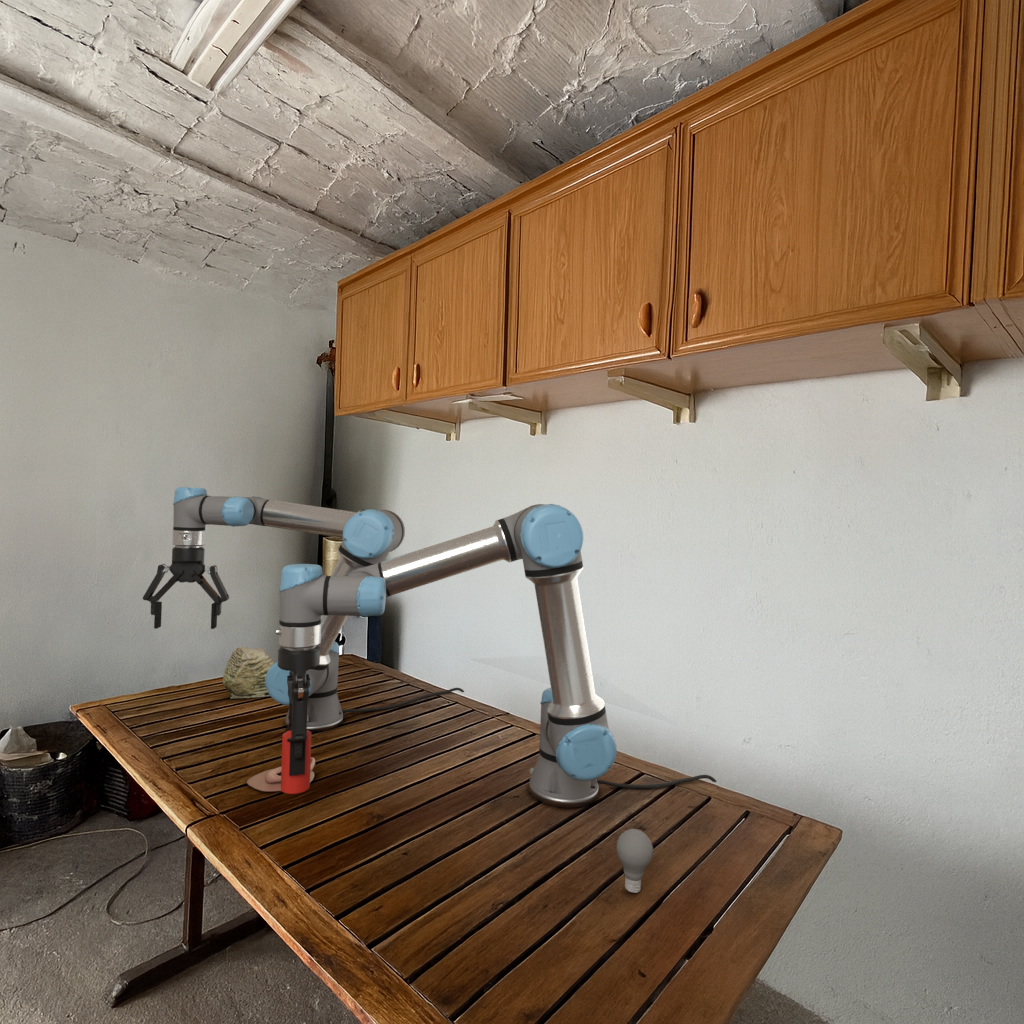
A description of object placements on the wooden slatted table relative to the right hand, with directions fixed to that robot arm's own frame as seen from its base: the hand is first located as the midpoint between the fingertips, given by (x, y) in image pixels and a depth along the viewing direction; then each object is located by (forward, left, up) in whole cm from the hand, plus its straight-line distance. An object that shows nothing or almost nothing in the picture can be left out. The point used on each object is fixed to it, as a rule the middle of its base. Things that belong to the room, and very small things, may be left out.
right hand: (296, 767), depth 120 cm
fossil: (+12, -86, -12) cm, 88 cm away
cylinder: (0, 0, -4) cm, 4 cm away
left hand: (+28, -57, +16) cm, 65 cm away
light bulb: (-54, +34, -12) cm, 65 cm away
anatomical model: (+3, -21, -12) cm, 25 cm away
